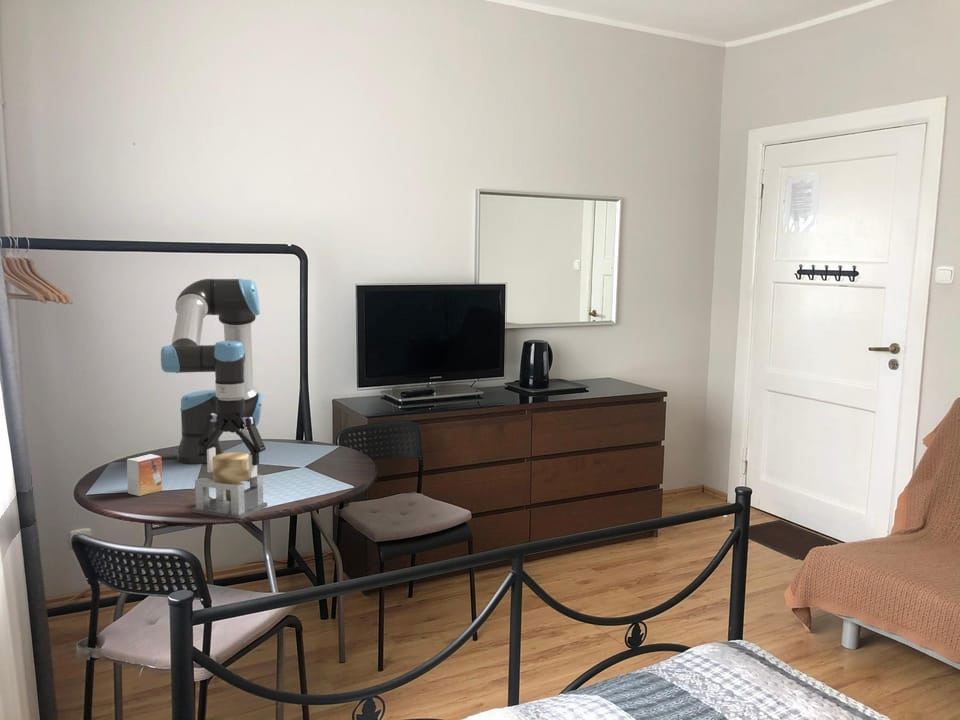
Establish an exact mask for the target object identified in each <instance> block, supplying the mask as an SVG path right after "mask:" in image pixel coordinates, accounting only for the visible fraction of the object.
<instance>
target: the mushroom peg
mask: <svg viewBox="0 0 960 720" xmlns="http://www.w3.org/2000/svg"><path fill="white" fill-rule="evenodd" d="M248 454H249V453H246V452H238V451H237V452H233V451H232V452H225V453H224V452H223V454H218V455H216V456H214V457H213V472H212V476H213V477H212V479H213V480H214V481H216V482H219V483H237V482H239V483H244V482H247V481H246V480H249V479H250V478H249V458H248ZM226 500H227V501H231V490H227V489H226Z"/></svg>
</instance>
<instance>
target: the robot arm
mask: <svg viewBox="0 0 960 720" xmlns="http://www.w3.org/2000/svg"><path fill="white" fill-rule="evenodd" d="M259 301H260V300H259V294H258V289H257V284H256V283H255V281H254V280H252V279H245V278H243V279H242V278H230V279H229V278H218V279H217V278H204V279H199V280H197V281H194V282H193V283H191V284H189V285H188V286H186V287H185V288H184V289H183V290H182V291H181V292H180V294H179V295H178V297H176V302H175V306H174V307H175V312H176V318H175V319H176V320H175V324H174V329H173V330H174V331H173V335H172V340H171V344H170V345H165V346H162V348H161V350H160V365H161V370H162V371H163V372H164V373H171V374H172V373H173V374H174V373H175V374H179V373H181V374H182V373H214V375H215V389H204V390H198V391H193V392H189V393H186V394H184V395H183V396H182V397H181V399H180V409H179V410H180V420H181V439H180V443H179V445H178V450H177V453H176V459H177V461H178V462H179V463H183V464H206V467H207V468H206V469H207V473H208V474H209V473H210V474H211V473H213V457H214V456H216V455H218V454H223V453H224V449H223V448H222V444H221V441H220V437H221V436H222V435H223V433H224V432H226V433H227V432H228V433H229V432H230V433H233V434H234V433H235V434H236V435H237V436H239V438H240V439H241V441H242V442H243V444H244V446H245V447H246V448H247V449H248V451H249V452H250V453H247V454H248V458H249V478H252V477H255V476H257V475H258V465H259V464H260V453H261V452H265V451H266V446H265V444H264V441H263V439H262V436H261V434H260V432H259V429H258V428H257V426H259V423H260V420H261V412H262V404H263V394H262V393H260V392H259V390H258V388H257V387H256V386H255V385H254V380H253V378H254V377H253V375H254V374H253V348H252V344H253V343H252V324H253V323H254V322H255V321H256V316H259V315H260V314H261V309H260V308H261V307H260V302H259ZM206 316H218V321H219V322H220V323H221V324H222V325H223V332H224V334H223V337H224V341H223V340H222V341H217V342H215V344H213V345H211V344H210V345H208V344H207V345H204V344H202V345H201V339H202V338H201V337H202V332H203V324H204V319H205V317H206Z"/></svg>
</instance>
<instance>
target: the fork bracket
mask: <svg viewBox="0 0 960 720" xmlns="http://www.w3.org/2000/svg"><path fill="white" fill-rule="evenodd" d="M245 482H249V488H247V489H245V483H244V482H237V483H219V482H216V481H214V480H213V478H206V477H200V478H197V479H195V480H194V484H195V485H194V486H195V488H194V489H195V506H194V507H192V508H191V512H192V513H196V514H202V515H203V514H204V515H210V516H217V517H224V518H230V519H231V518H232V519H238V520H242V519H244V518H246V517H248V516H250V515H253V514H255V513H256V512H259V511H261V510H263V509H264V508H266V507H268V502H264V480H263V474H257V476H255V477H252V478H250V479H249V480H246V481H245ZM210 488H213V489H215V498H213V499H211V500H210ZM226 489H227V490H231V501H227V500H226Z"/></svg>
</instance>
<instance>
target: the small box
mask: <svg viewBox="0 0 960 720" xmlns="http://www.w3.org/2000/svg"><path fill="white" fill-rule="evenodd" d="M162 461H163V460H162V456H161V455H156V454H154V453H153V454H151V453H149V454H145V455H141V456H137V457H132V458H127V459H126V471H127V473H126V475H127V494H130V495H134V496H138V497H141V496H144V495H149V494H153V493H157V492H161V491H163V469H162V468H163V467H162V465H163V462H162Z"/></svg>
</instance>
